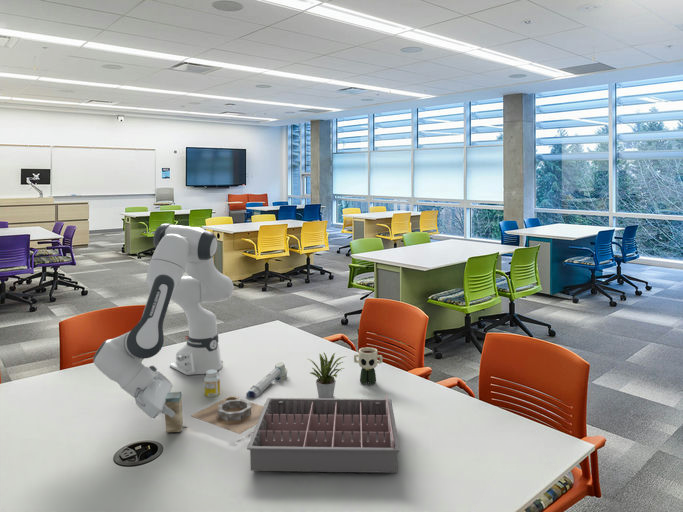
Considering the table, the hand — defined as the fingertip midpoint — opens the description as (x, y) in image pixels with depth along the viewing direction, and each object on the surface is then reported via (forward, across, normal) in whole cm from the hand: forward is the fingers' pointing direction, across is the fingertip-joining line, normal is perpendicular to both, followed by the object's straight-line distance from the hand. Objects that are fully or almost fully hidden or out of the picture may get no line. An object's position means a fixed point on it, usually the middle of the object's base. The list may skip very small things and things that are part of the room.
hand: (175, 410), depth 157 cm
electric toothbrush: (+26, +29, -15) cm, 42 cm away
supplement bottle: (+11, +24, -1) cm, 26 cm away
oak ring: (+15, +15, -7) cm, 23 cm away
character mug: (+52, +27, -42) cm, 72 cm away
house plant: (+40, +16, -31) cm, 53 cm away
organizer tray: (+37, -17, -27) cm, 49 cm away
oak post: (+4, 0, +5) cm, 6 cm away
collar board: (+17, +6, -8) cm, 20 cm away
